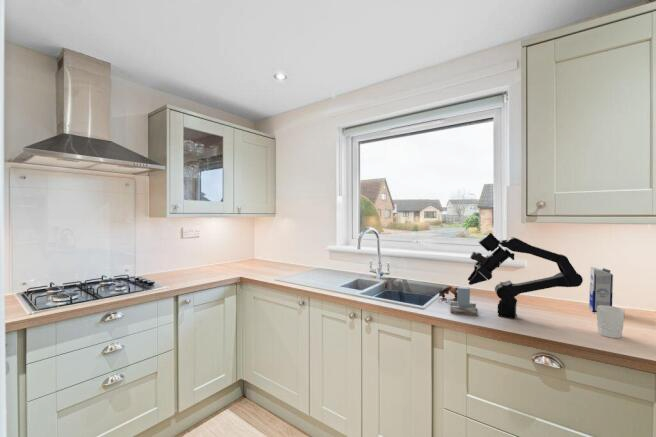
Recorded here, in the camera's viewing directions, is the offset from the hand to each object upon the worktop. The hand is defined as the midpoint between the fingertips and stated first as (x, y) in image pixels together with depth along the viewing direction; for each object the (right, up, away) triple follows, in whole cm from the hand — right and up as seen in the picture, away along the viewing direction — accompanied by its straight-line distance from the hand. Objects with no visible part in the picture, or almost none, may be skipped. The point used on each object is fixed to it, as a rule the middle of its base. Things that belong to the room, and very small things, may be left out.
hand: (468, 282), depth 148 cm
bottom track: (-2, -14, +1) cm, 14 cm away
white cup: (+41, -15, -26) cm, 51 cm away
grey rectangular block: (-2, -13, +1) cm, 13 cm away
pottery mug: (-1, -13, +19) cm, 24 cm away
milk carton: (+61, -14, +1) cm, 62 cm away
